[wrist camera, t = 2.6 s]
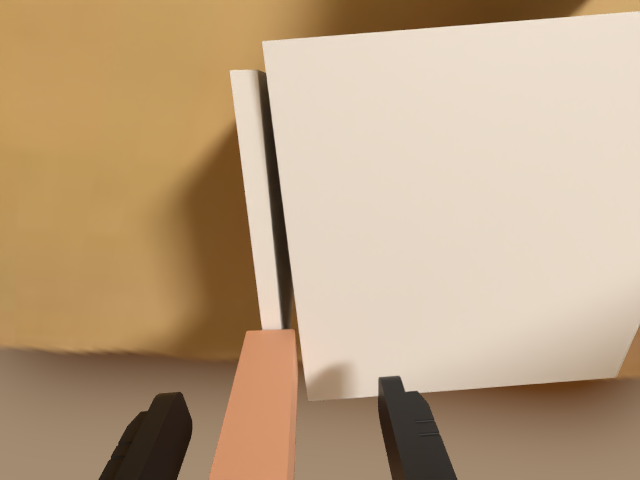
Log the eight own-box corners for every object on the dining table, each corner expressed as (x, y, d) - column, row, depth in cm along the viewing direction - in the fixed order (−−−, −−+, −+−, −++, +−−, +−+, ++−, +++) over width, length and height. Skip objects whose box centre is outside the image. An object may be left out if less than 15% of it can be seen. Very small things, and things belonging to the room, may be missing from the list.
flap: (292, 80, 18) (161, -16, 2) (302, 276, 24) (291, 682, 8) (258, 80, 18) (-182, -12, 2) (276, 277, 24) (205, 688, 7)
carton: (527, 49, 19) (783, 0, 9) (490, 260, 24) (615, 377, 14) (287, 68, 19) (262, 41, 9) (308, 275, 24) (307, 401, 14)
